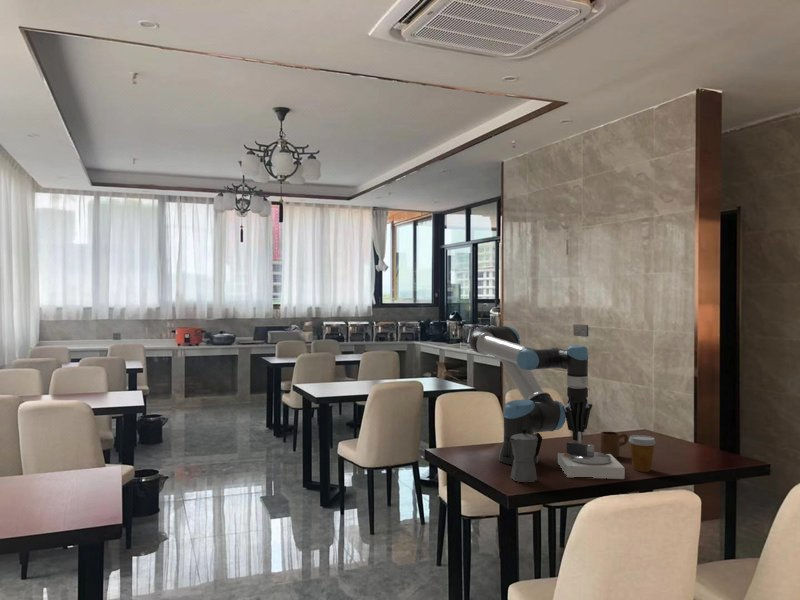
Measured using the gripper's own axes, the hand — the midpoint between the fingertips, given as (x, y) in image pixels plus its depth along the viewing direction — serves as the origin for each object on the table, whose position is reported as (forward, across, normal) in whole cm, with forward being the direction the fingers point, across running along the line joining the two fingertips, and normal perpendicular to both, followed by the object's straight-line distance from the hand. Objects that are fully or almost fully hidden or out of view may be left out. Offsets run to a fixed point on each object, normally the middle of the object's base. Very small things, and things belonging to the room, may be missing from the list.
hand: (577, 448), depth 243 cm
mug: (+8, +26, +7) cm, 28 cm away
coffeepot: (+6, -28, -5) cm, 29 cm away
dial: (+3, 0, -5) cm, 6 cm away
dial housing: (+7, +1, -6) cm, 9 cm away
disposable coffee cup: (+8, +20, -13) cm, 25 cm away
